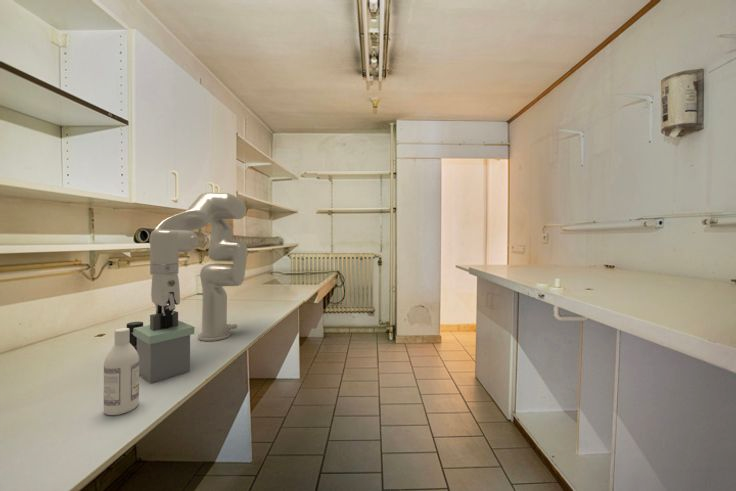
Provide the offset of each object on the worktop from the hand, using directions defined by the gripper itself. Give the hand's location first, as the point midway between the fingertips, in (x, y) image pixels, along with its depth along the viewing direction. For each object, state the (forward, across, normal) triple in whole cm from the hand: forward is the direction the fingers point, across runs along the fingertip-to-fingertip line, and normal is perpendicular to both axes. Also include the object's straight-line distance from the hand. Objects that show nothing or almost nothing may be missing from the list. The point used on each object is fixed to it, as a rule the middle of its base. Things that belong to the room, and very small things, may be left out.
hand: (164, 326), depth 99 cm
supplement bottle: (+15, +22, +1) cm, 26 cm away
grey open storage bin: (+15, 0, 0) cm, 15 cm away
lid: (+3, 0, 0) cm, 3 cm away
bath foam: (+15, -15, +15) cm, 26 cm away
